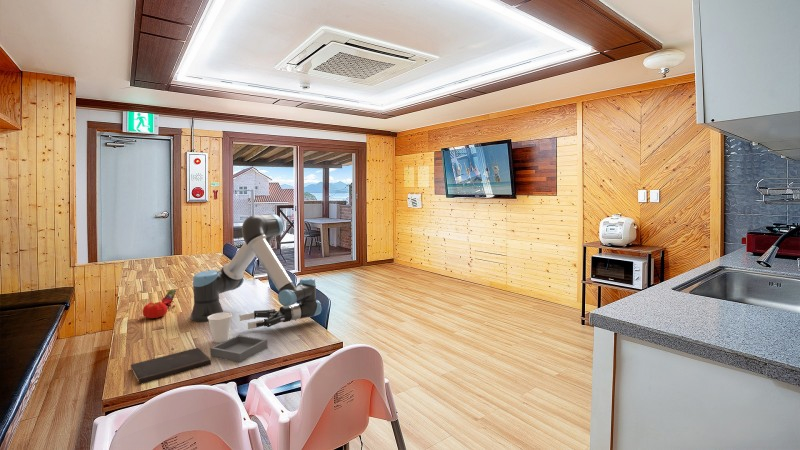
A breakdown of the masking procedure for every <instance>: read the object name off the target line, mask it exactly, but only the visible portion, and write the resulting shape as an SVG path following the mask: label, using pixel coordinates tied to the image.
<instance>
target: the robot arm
mask: <svg viewBox="0 0 800 450" xmlns="http://www.w3.org/2000/svg"><path fill="white" fill-rule="evenodd" d="M241 226H242V227H241V234H242V239H243V241H244V243H243V244H242V246H241V247H240V248H239V250H238V251H237V252H236V253H235V255H234V256H233V257H232V259H231V260H230V262H227V263H225V264H224V265H223V266H222V268H221V269H220V270H215V269H211V270H204V271H200V272H197V273H196V274H194V276H193V277H192V278H193V279H192V289H193V290H192V291H193V307H192V311H191V313H190V320H191V321H193V322H209V320H208V316H210V315H212V314H216V313H224V309H223V307H222V305H221V302H220V294H223V293H226V292H229V291H233V290H237V289H238V288H240V287H241V286H242V285H243V283H244V281H245V279H244V278H245V271H246V269H247V267H249V265H250V264H251V263H252V261H253V260H254V259H255V258H256V257H257V259H258V261H259V263H260V264H261V265H262V267H263V268H264V270H265V272H266V273H267V275H268V276H269V278H270V280H271V281H272V283H273V284H274V286H275V288H276V289H277V291H278V292H279V293H278V296H277V298H278V299H277V300H278V303H279V304H280V305H281V306H280V307H279V310H276V309H275V308H273V309H262V310H261V309H260V310H254V311H253V312H249V313H244V314H243V313H242V314H239V322H244V321H248V320H255V319H256V318H259V319H260V318H261V319H260V320H255V321H250V322H247V329H248V330H251V329H256V328H260V327H267V328H269V327H270V328H271V327H273V326H275V325H277V324H279V323H287V322H290V321H297V320H301V319H307V318H311V317H315V316H316V317H317V316H318V315H320V314H321V313H322V309H323V308H322V303H321V302H320V300H318V299H317V294H316V293H317V289H316V288H317V286H316V285H317V284H316V279H315V278H314V277H309V276H308V277H302V278H300V280H299V283H298V284H297V285H295V283H294V282H293V280H292V278H291V277H290V276H289V274H288V272H287V271H286V269H285V267H284V266H283V264H282V262H281V261H280V260H279V258H278V257H277V255H276V254H275V251H274V250H273V248H272V247H271V246H270V243H271V241H272V240H273V238H275V237H278V236H280V235H281V234H282V233H283V231H284V224H283V220H282V219H281V217H280V215H277V214H276V213H275V214H274V213H267V214H256V215H255V214H254V215H251V216H248V217H247V218H246V219H245V220H244V221H243V223H242V225H241ZM298 302H299V303H298Z"/></svg>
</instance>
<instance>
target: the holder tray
mask: <svg viewBox="0 0 800 450" xmlns="http://www.w3.org/2000/svg"><path fill="white" fill-rule="evenodd" d="M266 349H268V339H264V338H259V337H258V338H257V337H252V336H248V335H247V336H246V335H240V334H239V335H236V336H234V337H231V338H229V339H228V340H227V341H225V342H222V343H217V344H216V345H214V346H211V347H210V348H209V350H210V358H215V359H220V360H226V361H230V362H235V363H239V364H240V363H243V362H244V361H247V360H248V359H250V358H251V357H254V356H255V355H257V354H258V353H261V352H262V351H264V350H266Z"/></svg>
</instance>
